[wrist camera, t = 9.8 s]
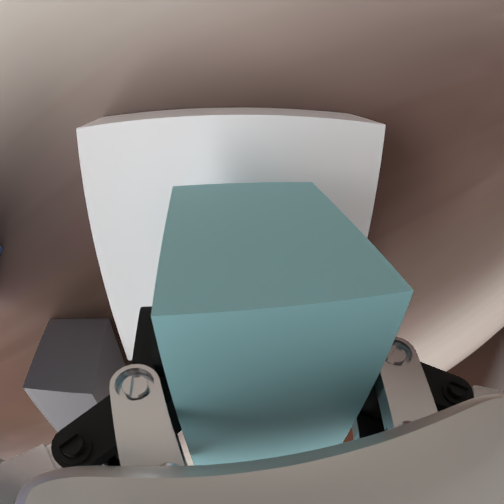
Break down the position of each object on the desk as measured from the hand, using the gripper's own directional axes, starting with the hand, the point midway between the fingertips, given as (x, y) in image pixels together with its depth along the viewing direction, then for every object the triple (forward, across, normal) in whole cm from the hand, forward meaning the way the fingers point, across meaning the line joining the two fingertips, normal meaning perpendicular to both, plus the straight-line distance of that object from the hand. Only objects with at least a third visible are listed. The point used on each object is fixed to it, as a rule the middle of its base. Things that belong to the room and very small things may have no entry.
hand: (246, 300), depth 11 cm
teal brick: (+1, 0, 0) cm, 1 cm away
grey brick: (+6, +10, +10) cm, 16 cm away
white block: (+6, 0, 0) cm, 6 cm away
